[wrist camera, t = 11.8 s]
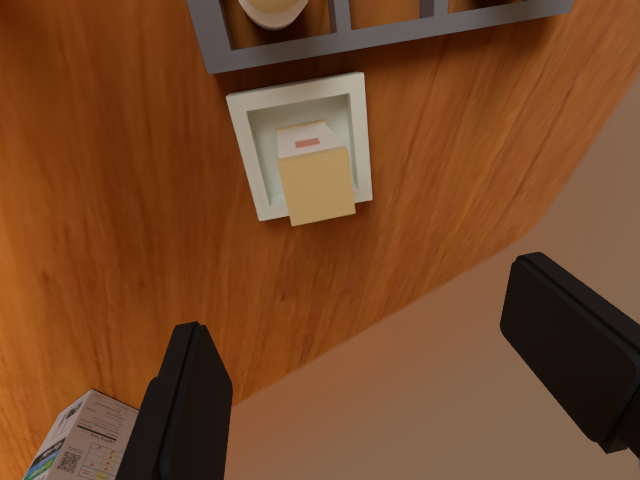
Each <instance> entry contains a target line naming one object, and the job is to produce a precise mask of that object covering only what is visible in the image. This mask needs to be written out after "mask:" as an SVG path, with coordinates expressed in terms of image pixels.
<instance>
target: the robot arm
mask: <svg viewBox="0 0 640 480" xmlns="http://www.w3.org/2000/svg"><path fill="white" fill-rule="evenodd" d="M500 329H501V332H502V334H503V335H504V337H505V338H506V339H507V341H508V342H509V343H510V344H511V345H512V347H514V349H515V350H516V351H517V353H518V354H519V355H520V356H521V358H522V359H523V360H524V361H525V362H526V364H527V365H528V366H529V367H530V369H531V370H532V371H533V372H534V373H535V375H536V376H537V377H538V378H539V379H540V381H541V382H542V383H543V384H544V386H545V387H546V388H547V389H548V390H549V392H550V393H551V394H552V395H553V397H554V398H555V399H556V400H557V401H558V403H559V404H560V405H561V406H562V407H563V409H564V410H565V411H566V412H567V414H568V415H569V416H570V417H571V418H572V420H573V421H574V422H575V423H576V424H577V426H578V427H579V428H580V429H581V431H582V432H583V433H584V434H585V435H586V436H587V437H588V438H589V439H590V440H591V441H593V442H597V443H598V444H599V446H600V447H601V448H602V449H603V450H604V452H605V453H606V454H608V453H613V452H616V451H621V450H625V449H627V448H628V447H629V448H630V450H631V451H632V452H633V453H634V454H635V455H636V456H637V458H638V465H639V472H640V325H639V324H638V323H637V322H635V321H634V320H632V319H631V318H630V317H628V316H627V315H625V314H624V313H623V312H621V311H620V310H619V309H618V308H616V307H615V306H614V305H612V304H611V303H609V302H608V301H607V300H605V299H604V298H603V297H601V296H600V295H599V294H597V293H596V292H595V291H593V290H592V289H591V288H589V287H588V286H586V285H585V284H584V283H583V282H581V281H580V280H578V279H577V278H576V277H574V276H573V275H572V274H570V273H569V272H568V271H566V270H565V269H564V268H562V267H561V266H559V265H558V264H557V263H556V262H554V261H552V259H550V258H549V257H547V256H546V255H545V254H543V253H541V252H535V253H530V254H525V255H521V256H518V257H517V258H516V261H515V262H513V263H512V266H511V271H510V275H509V280H508V285H507V291H506V296H505V301H504V306H503V311H502V316H501V321H500ZM232 395H233V388H232V382H231V380H230V378H229V375H228V373H227V371H226V369H225V367H224V364H223V362H222V360H221V358H220V356H219V353H218V351H217V349H216V347H215V345H214V342H213V340H212V338H211V336H210V334H209V331H208V329H207V327H206V326H205V325H200V324H199V323H198V322H197V321H195V322H190V323H185V324H180V325H176V326H175V328H174V330H173V333H172V336H171V339H170V342H169V345H168V348H167V351H166V354H165V357H164V360H163V363H162V366H161V368H160V371H159V374H158V377H155V378H153V379H152V380H151V381H150V383H149V385H148V388H147V390H146V393H145V396H144V399H143V402H142V404H141V407H140V410H139V413H138V416H137V418H136V421H135V424H134V427H133V430H132V432H131V435H130V438H129V441H128V443H127V446H126V449H125V452H124V455H123V457H122V460H121V463H120V466H119V469H118V471H117V474H116V477H115V480H224V472H225V462H226V452H227V442H228V434H229V424H230V415H231V405H232Z"/></svg>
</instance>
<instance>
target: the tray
mask: <svg viewBox="0 0 640 480" xmlns="http://www.w3.org/2000/svg"><path fill="white" fill-rule="evenodd" d="M226 100H227V104H228V108H229V111H230V115H231V119H232V122H233V126H234V130H235V133H236V137H237V141H238V144H239V148H240V152H241V155H242V159H243V163H244V166H245V170H246V174H247V178H248V181H249V185H250V189H251V192H252V196H253V200H254V203H255V207H256V211H257V214H258V218H259V221H264V220H269V219H274V218H279V217H285V216H289V212H288V208H287V203H286V199H285V195H284V191H283V186H282V182H281V178H280V173H279V169H278V165H277V159H279V155H278V141H277V136H276V132H275V128H279V127H285V126H290V125H295V124H300V123H305V122H310V121H315V120H321V119H325V121H326V125H327V126H328V127H329V129H330V130H331V131H332V133H333V134H334V135H335V137H336V138H337V139H338V140H339V142H340V143H341V144H342V146H346V147H347V148H348V151H349V160H350V169H351V177H352V186H353V195H354V203H358V202H364V201H369V200H372V185H371V170H370V156H369V141H368V126H367V111H366V97H365V82H364V73H362V72H358V71H355V72H349V73H343V74H337V75H332V76H326V77H320V78H314V79H309V80H303V81H297V82H291V83H286V84H280V85H274V86H268V87H263V88H257V89H251V90H245V91H240V92H234V93H229V94H228V95H227V96H226Z"/></svg>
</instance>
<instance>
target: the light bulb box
mask: <svg viewBox="0 0 640 480" xmlns="http://www.w3.org/2000/svg"><path fill="white" fill-rule="evenodd" d="M138 413H139V410H136V409H134V408H132V407H130V406H128V405H126V404H123V403H121V402H119V401H117V400H115V399H113V398H110V397H108V396H106V395H104V394H102V393H99V392H97V391H95V390H93V389H91V390H89V391H88V392H87V393H85V394H84V395H83V396H81V397H80V398H79V399H78V400H76V401H75V402H74V403H72V404H71V405H70V406H68V407H67V408H66V409H64V410H63V411H62V412H61V413H60V414H59V416H58V417H57V419H56V421H55V423H54V424H53V426H52V428H51V430H50V431H49V433H48V435H47V437H46V438H45V440H44V442H43V444H42V445H41V447H40V449H39V451H38V452H37V454H36V456H35V458H34V460H33V461H32V463H31V465H30V467H29V468H28V470H27V472H26V474H25V476H24V477H23V479H22V480H115V477H116V474H117V471H118V469H119V466H120V463H121V460H122V457H123V455H124V452H125V449H126V446H127V443H128V441H129V438H130V435H131V432H132V430H133V427H134V424H135V421H136V418H137V416H138Z"/></svg>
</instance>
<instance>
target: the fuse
mask: <svg viewBox="0 0 640 480" xmlns="http://www.w3.org/2000/svg"><path fill="white" fill-rule="evenodd" d="M275 132H276V136H277V141H278V155H279V159H277V165H278V169H279V173H280V178H281V182H282V186H283V191H284V195H285V199H286V203H287V208H288V212H289V216H290V221H291V225H292V226H296V225H301V224H306V223H311V222H316V221H321V220H326V219H331V218H336V217H340V216H345V215H350V214H355V213H356V212H355V204H354V195H353V186H352V177H351V169H350V160H349V151H348V148H347V147H346V146H342V144H341V143H340V142H339V140H338V139H337V138H336V137H335V135H334V134H333V133H332V131H331V130H330V129H329V127H328V126H327V125H326V121H325V119H321V120H315V121H310V122H305V123H300V124H295V125H290V126H285V127H279V128H275Z"/></svg>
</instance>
